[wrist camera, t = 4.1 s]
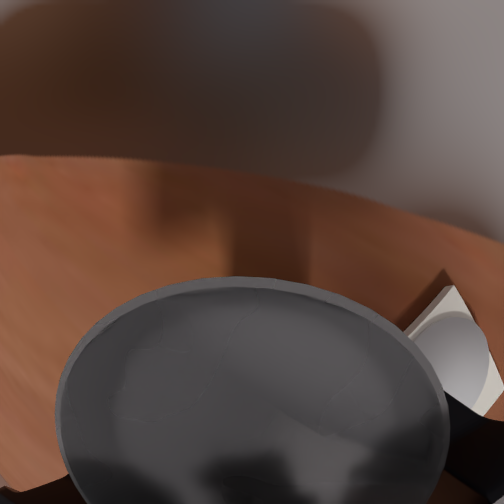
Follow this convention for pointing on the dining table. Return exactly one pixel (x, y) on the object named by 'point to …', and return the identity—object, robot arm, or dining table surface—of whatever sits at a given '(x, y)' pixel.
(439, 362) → the dial scale
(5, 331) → the dining table surface
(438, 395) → the metal tumbler
